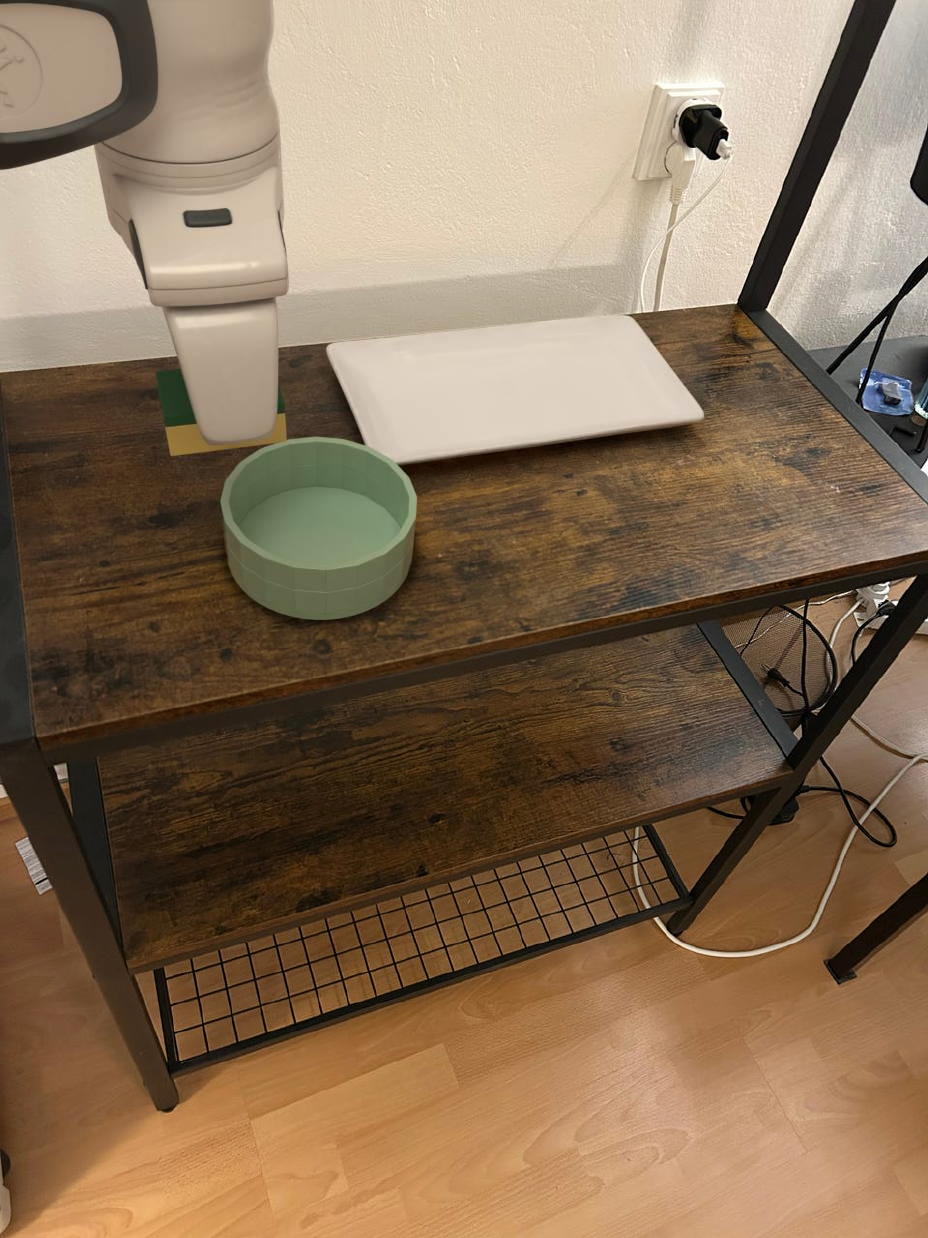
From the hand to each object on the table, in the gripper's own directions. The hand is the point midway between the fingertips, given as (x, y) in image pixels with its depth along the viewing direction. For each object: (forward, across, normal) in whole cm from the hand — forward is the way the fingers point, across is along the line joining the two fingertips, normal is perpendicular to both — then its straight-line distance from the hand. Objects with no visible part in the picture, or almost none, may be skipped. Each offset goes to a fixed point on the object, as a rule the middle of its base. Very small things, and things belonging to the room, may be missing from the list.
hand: (221, 405), depth 59 cm
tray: (+18, -17, +27) cm, 37 cm away
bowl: (+17, -3, +6) cm, 18 cm away
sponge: (+2, 0, 0) cm, 2 cm away
